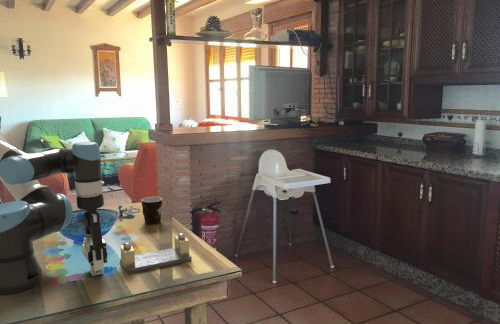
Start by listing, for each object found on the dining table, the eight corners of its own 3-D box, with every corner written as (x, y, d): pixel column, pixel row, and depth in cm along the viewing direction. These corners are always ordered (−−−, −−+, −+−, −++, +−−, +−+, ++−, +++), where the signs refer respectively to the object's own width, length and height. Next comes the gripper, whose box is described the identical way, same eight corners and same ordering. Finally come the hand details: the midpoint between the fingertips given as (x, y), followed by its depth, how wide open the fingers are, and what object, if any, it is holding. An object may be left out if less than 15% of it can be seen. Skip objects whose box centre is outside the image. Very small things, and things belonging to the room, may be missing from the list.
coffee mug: (154, 217, 187) (153, 195, 186) (167, 221, 182) (166, 199, 180) (132, 224, 179) (130, 201, 177) (144, 229, 173) (143, 205, 171)
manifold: (127, 274, 132) (125, 249, 131) (120, 262, 141) (118, 239, 140) (191, 260, 142) (190, 237, 141) (181, 250, 151) (180, 228, 149)
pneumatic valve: (100, 265, 139) (97, 229, 137) (109, 278, 129) (107, 240, 127) (82, 269, 136) (79, 232, 134) (90, 283, 126) (87, 244, 124)
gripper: (110, 202, 119) (116, 274, 123) (96, 184, 141) (100, 246, 144) (82, 205, 116) (88, 279, 119) (71, 187, 137) (77, 250, 141)
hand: (95, 261), depth 132 cm, fingers open, 13 cm apart
